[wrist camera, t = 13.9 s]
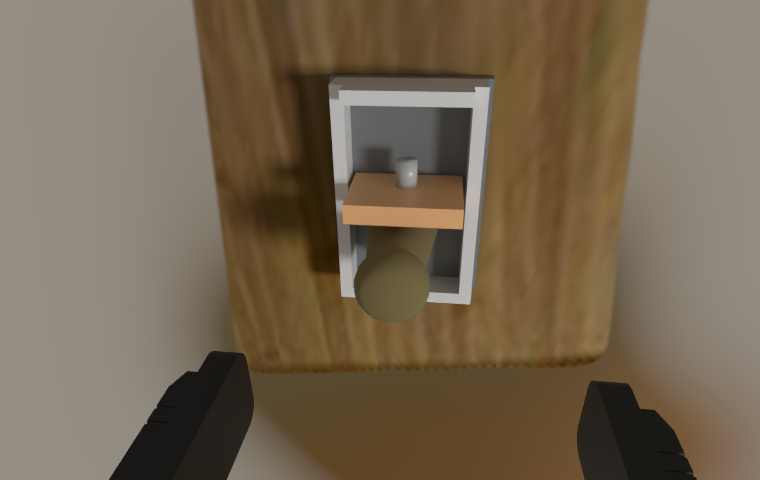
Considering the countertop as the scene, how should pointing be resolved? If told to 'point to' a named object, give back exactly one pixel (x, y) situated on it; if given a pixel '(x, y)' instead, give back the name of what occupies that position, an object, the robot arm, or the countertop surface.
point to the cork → (394, 272)
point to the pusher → (405, 199)
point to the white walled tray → (419, 140)
